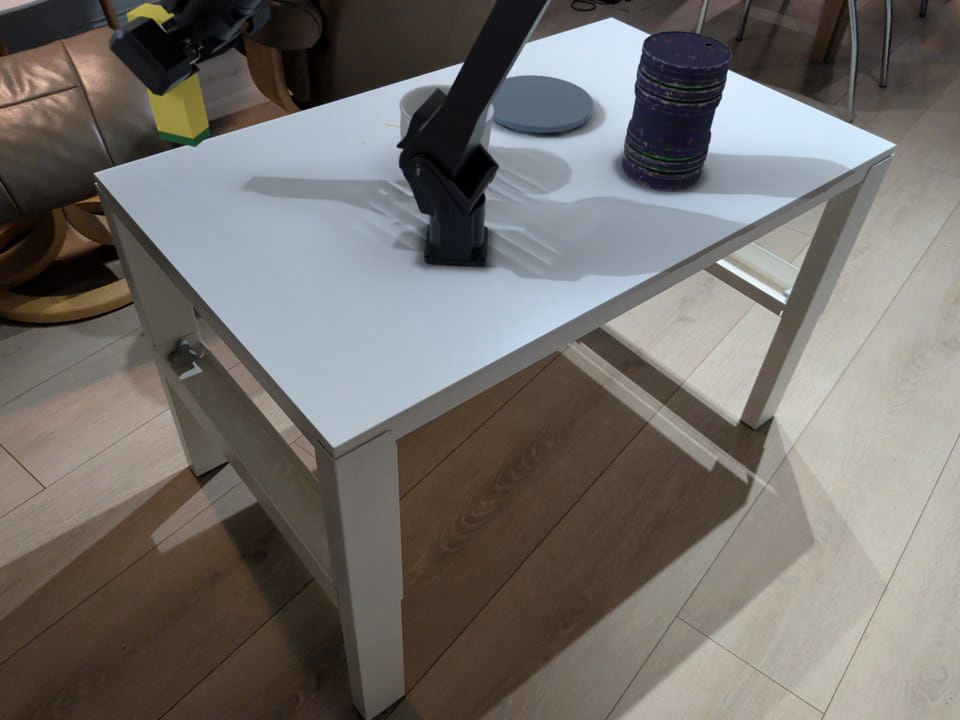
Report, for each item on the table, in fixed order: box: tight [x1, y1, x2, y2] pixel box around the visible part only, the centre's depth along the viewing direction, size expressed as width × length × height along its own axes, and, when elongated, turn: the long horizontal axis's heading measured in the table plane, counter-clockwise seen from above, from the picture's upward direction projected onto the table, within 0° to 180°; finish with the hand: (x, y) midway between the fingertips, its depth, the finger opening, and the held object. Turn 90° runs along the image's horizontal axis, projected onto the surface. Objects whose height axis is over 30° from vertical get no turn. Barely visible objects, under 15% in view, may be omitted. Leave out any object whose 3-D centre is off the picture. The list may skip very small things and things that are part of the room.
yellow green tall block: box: [126, 2, 212, 148], centre depth 83 cm, size 3×4×14 cm, turn 70°
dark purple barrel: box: [621, 30, 733, 192], centre depth 92 cm, size 10×10×15 cm
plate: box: [492, 74, 594, 134], centre depth 107 cm, size 15×15×1 cm
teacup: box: [399, 84, 494, 152], centre depth 93 cm, size 14×11×8 cm
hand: (160, 75), depth 83 cm, fingers closed on yellow green tall block, 3 cm apart
